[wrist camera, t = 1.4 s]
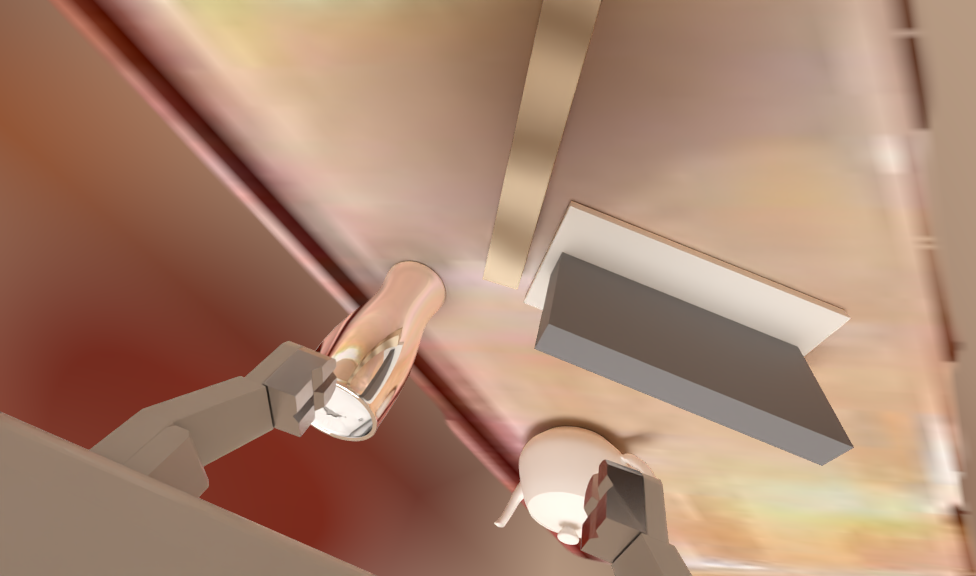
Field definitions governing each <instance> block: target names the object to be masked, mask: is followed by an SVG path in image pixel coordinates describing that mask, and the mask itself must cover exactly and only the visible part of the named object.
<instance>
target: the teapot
mask: <svg viewBox="0 0 976 576" xmlns="http://www.w3.org/2000/svg"><path fill="white" fill-rule="evenodd" d="M605 459H606V460H609V461H612V462H614V463H617V464H620V465H623V466H626V467H628V464H630V465H631V466H632V467H634V468H635V469H637V470H639V471H640V472H642V473H643V474H646V475H649V476H652V477H655V475H654V473H653V471H652V470H651V468H650V467H649V466H648V465H647V464H646V462H644V461H643V460H641V459H639V458H638V457H636V456H635V455H633V454H627V453H625V454H621V453H620V451H619V450H618V449H617V448H615V447H614V446H613V445H612V444H611V443H610V442H608V441H607V440H606V439H605V438H604V437H602V436H600V435H599V434H597V433H595V432H593V431H590V430H587V429H584V428H580V427H573V426H561V427H555V428H551V429H549V430H547V431H545V432H542V433H540V434H538V435H536V436H534V437H533V438H532V439H531V440H529V441H528V442H527V444H526V445H525V446H524V448H523V450H522V452H521V455H520V459H519V473H520V480H521V482H520V483H519V484H518V486H517V487H516V489H515V490H514V492H513V494H512V496H511V498H510V500H509V502H508V504H507V506H506V508H505V510H504V512H503V514H502V515H501V516H500V518H499V519H498V520H497V521H496V522H494V524H495V525H497V526H498V527H504V526H505V525H506V523H507V522H508V520H509V519H510V517H511V516H512V514H513V513H514V511H515V509H516V507H517V506H518V504H519V503H520V501H521V500H522V499H524V500H525V503H526V506H527V508H528V511H529V513H530V515H531V516H532V517H533V519H534V520H535V521H537V522H538V523H539V524H540V525H542V526H544V527H545V528H547V529H549V530H551V531H554V532H556V533H558V539H559V540H560V541H561V542H563V543H566V544H571V545H574V544H577V543H578V542H579V538H582V524H583V523H584V522H585V520H586V519H587V517H588V516H587V514H586V512H585V510H584V499H585V493H586V489H587V486H588V483H589V481H590V479H591V477H592V476H593V474H597V473H599V465H600V464H601V462H602V461H603V460H605ZM627 463H628V464H627ZM628 468H629V467H628ZM655 478H656V477H655Z"/></svg>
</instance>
